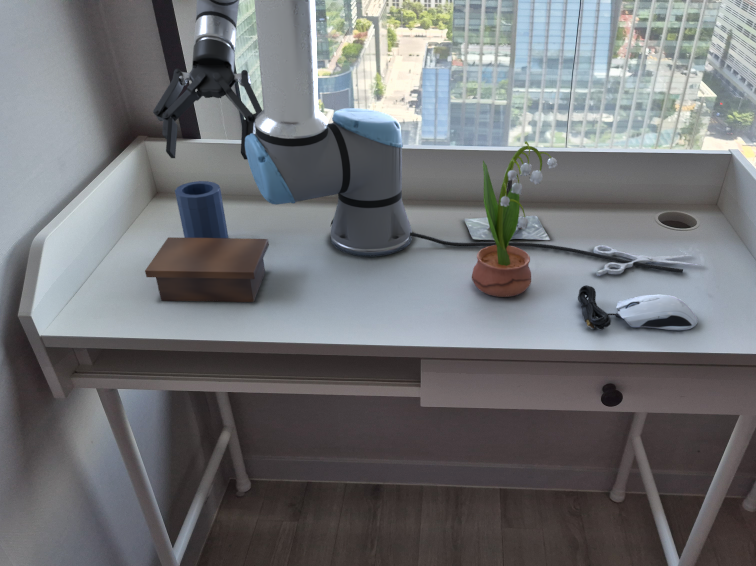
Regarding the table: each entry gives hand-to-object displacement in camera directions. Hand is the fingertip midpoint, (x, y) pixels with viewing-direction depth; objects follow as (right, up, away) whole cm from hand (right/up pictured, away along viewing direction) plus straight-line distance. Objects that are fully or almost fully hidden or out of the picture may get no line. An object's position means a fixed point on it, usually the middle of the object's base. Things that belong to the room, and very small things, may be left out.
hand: (207, 155), depth 127 cm
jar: (0, -16, +1) cm, 16 cm away
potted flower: (+54, -26, -10) cm, 60 cm away
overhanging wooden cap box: (+5, -25, -11) cm, 28 cm away
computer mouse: (+73, -32, -18) cm, 82 cm away
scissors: (+80, -20, -2) cm, 82 cm away
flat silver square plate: (+56, -12, +8) cm, 58 cm away
